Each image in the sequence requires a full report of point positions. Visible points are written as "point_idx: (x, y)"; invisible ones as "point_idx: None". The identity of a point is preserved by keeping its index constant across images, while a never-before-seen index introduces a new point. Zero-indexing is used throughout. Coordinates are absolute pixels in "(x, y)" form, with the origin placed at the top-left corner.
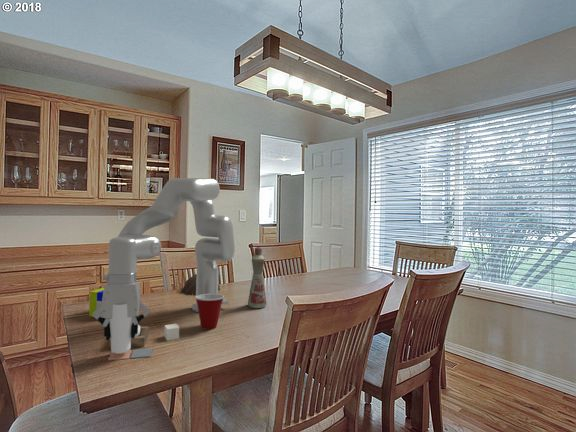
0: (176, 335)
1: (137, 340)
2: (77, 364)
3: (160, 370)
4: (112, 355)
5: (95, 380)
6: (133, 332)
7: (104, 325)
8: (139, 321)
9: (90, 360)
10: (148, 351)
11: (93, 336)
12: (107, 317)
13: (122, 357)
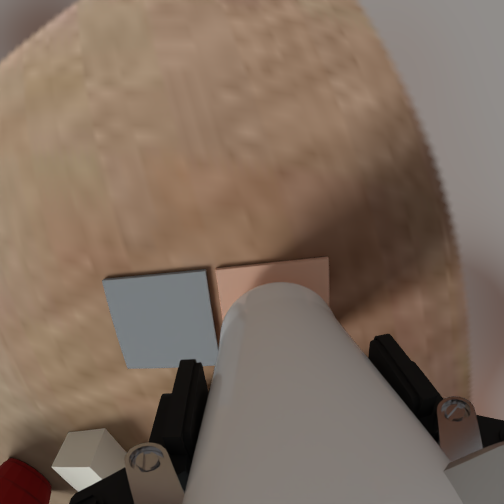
0: (70, 442)
1: None
2: (449, 230)
3: (26, 125)
4: None
5: (316, 39)
6: (178, 387)
7: (456, 407)
8: (119, 473)
9: (408, 267)
10: (132, 334)
11: None
12: (499, 450)
13: (253, 277)
